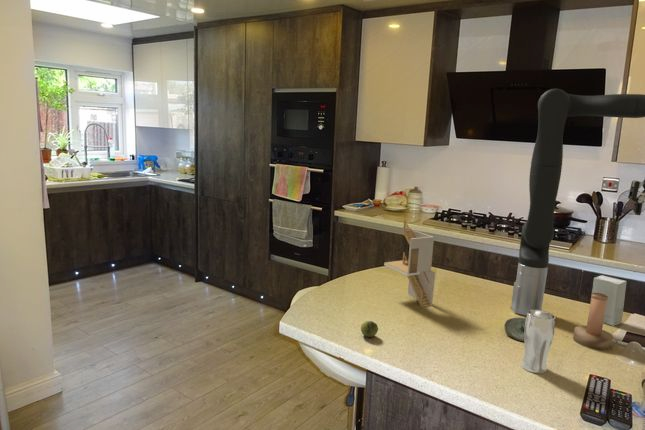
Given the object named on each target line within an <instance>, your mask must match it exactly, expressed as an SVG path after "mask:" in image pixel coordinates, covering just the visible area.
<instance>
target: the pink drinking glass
mask: <svg viewBox="0 0 645 430" xmlns="http://www.w3.org/2000/svg"><path fill="white" fill-rule="evenodd" d="M607 300H608V296H607V295H605V294H601V293H592V292H591V298H590V303H589V304H590V305H589V311H588V317H587V322H586V326H587V328H586V332H587V333H588V334H591V335H594V336H601V333H602V330H603V325H604V323H603V321H604V316H605V310H606V304H607Z"/></svg>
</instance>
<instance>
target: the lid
mask: <svg viewBox="0 0 645 430" xmlns="http://www.w3.org/2000/svg"><path fill="white" fill-rule="evenodd" d="M525 322H526V317H519V316H518V317H512V318H509V319H507V320H506V321H505V323H504V327H503V328H504V332H505V333H506V335H507V336H509V338H511V339H513V340H515V341H519V342H523V343H525V342H524V328H525Z"/></svg>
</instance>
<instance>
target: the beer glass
mask: <svg viewBox="0 0 645 430" xmlns="http://www.w3.org/2000/svg"><path fill="white" fill-rule="evenodd" d="M525 318H526V322H525V328H524V342H523V343H524V354H523V358H522V361H521V363H520V364H521V365H520V366H521V368H523V369H524V370H525V371H527V372H530V373H532V374H545V373H547V357H548V354H549V352H550V348H551V346H552V343H553V340H554V335H555V328H556V327H555V326H556V316H555V315H554V313H551V312H549V311H546V310H543V309H542V310H529V311H528V313H527V316H525Z"/></svg>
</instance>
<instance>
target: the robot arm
mask: <svg viewBox="0 0 645 430" xmlns="http://www.w3.org/2000/svg"><path fill="white" fill-rule="evenodd" d="M537 110H538V111H537V112H538V113H537V114H538V117H537V118H538V121H537V122H538V124H537V127H538V128H537V135H536V140H535V143H534V147H533V152H532V155H531V161H530V169H529V178H528V179H529V184H528V186H529V188H528V189H529V191H528V192H529V210H528V215H527V219H526V221H525V222H524V224H523V226H522V228H521V229H522V230H521V233H520V234H521V235H520V243H519V250H518V251H519V252H518V253H519V254H518V265H517V271H516V272H517V273H516V280H515V281H514V282H513V290H512V296H511V302H510V303H511V305H510V308H511V309H512V311H513V312H514V314H519V315H521V316H525V317H527V313H528V311H529V310H542V311H543V304H544V303H543V301H544V295H545V289H546V282H547V275H548V269H549V268H548V267H549V262H550V256H549V254H550V245H551V244H550V243H552V241H553V238H554V236H555V227H554V224H555V223H554V220H555V205H556V201H557V197H558V193H559V186H560V182H561V177H562V169H563V158H564V155H563V154H564V145H563V142H564V141H563V140H564V139H563V137H564V130H565V126H566V125H565V124H566V121H567V118H568V117H581V116H582V117H585V116H589V117H607V118H620V119H621V118H622V119H623V118H625V119H630V118H631V119H641V118H645V94H644V93H643V94H641V93H636V94H635V93H614V94H613V93H612V94H601V95H579V94H570V93H567V92H566V91H564V90H563V89H560V88H550V89H548V90H546V91H545V92H544V93H543V94H541V95H540V98H539V99H538V101H537ZM640 188H643V190H642V191H641V192H639V190H640ZM638 192H639V194H638ZM628 193H629V194H628V197H627V199H628V200H631V202H634V205H633V213H634V215H636V216H641V213H642V209H643V202H644V201H645V178H644V180H643V181H638V180H632V182H631V184H630V189H629V192H628Z"/></svg>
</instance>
